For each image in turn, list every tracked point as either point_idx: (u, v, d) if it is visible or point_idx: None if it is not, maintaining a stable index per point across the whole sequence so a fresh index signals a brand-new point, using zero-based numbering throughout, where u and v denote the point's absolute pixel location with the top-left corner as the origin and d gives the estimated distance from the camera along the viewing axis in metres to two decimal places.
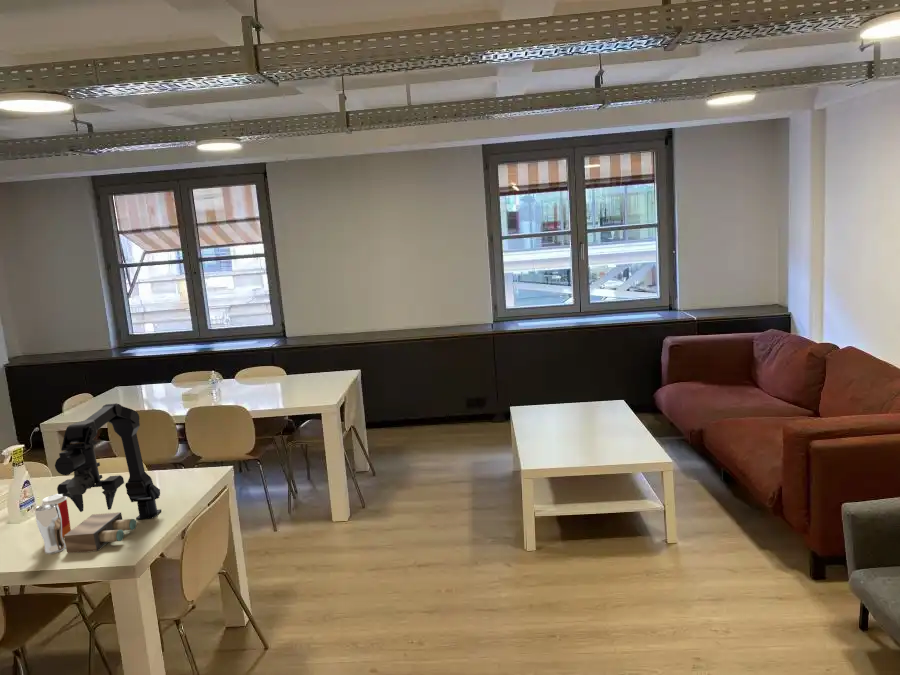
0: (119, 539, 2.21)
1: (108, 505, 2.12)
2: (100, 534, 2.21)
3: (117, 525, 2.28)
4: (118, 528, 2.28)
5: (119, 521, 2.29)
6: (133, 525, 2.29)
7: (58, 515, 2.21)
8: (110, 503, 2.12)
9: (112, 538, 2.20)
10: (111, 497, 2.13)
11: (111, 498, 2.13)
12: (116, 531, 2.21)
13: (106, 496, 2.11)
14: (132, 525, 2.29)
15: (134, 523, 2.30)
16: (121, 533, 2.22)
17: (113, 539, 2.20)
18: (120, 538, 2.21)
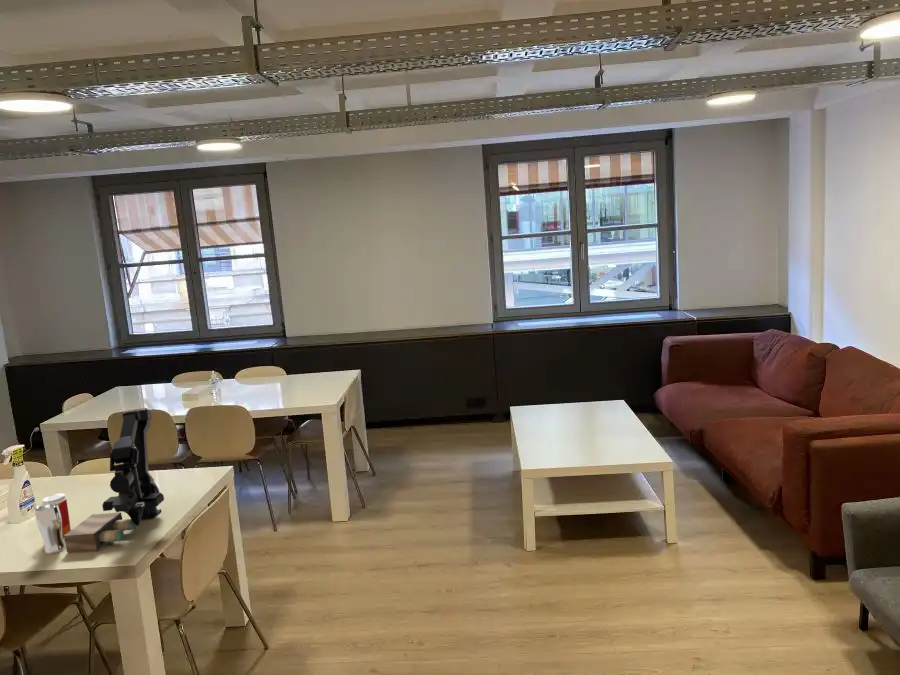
0: (119, 539, 2.21)
1: (137, 521, 2.28)
2: (100, 534, 2.21)
3: (117, 525, 2.28)
4: (118, 528, 2.28)
5: (119, 521, 2.29)
6: (133, 525, 2.29)
7: (58, 515, 2.21)
8: (139, 520, 2.29)
9: (112, 538, 2.20)
10: (140, 514, 2.29)
11: (140, 515, 2.29)
12: (116, 531, 2.21)
13: (135, 513, 2.27)
14: (132, 525, 2.29)
15: None
16: (121, 533, 2.22)
17: (113, 539, 2.20)
18: (120, 538, 2.21)
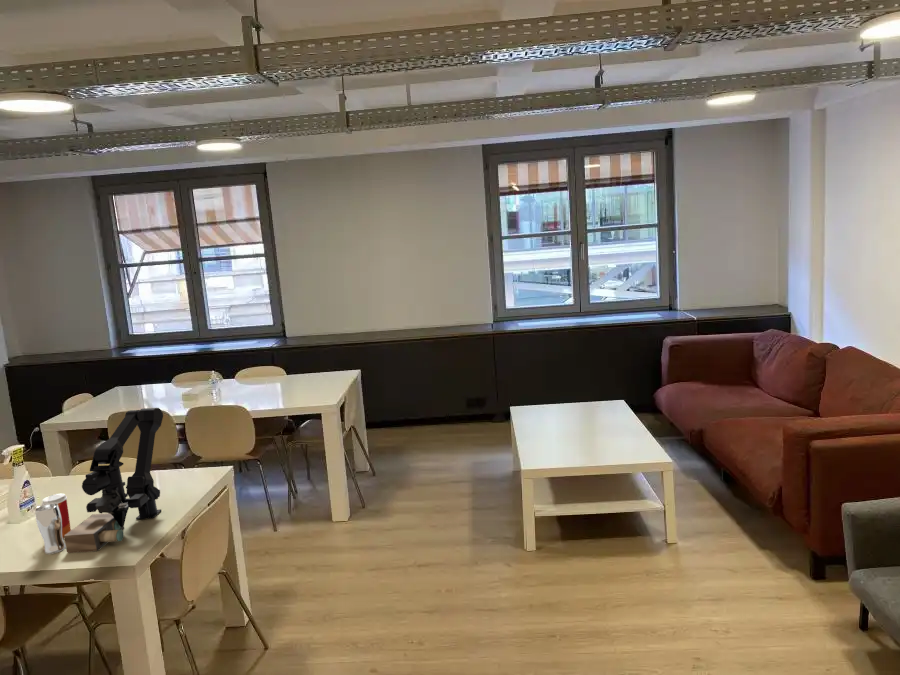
0: (119, 539, 2.21)
1: (121, 523, 2.29)
2: (100, 534, 2.21)
3: None
4: None
5: None
6: (118, 526, 2.30)
7: (58, 515, 2.21)
8: (123, 521, 2.29)
9: (112, 538, 2.20)
10: (123, 515, 2.29)
11: (123, 516, 2.29)
12: (116, 531, 2.21)
13: (119, 514, 2.27)
14: (117, 526, 2.29)
15: None
16: (121, 533, 2.22)
17: (113, 539, 2.20)
18: (120, 538, 2.21)
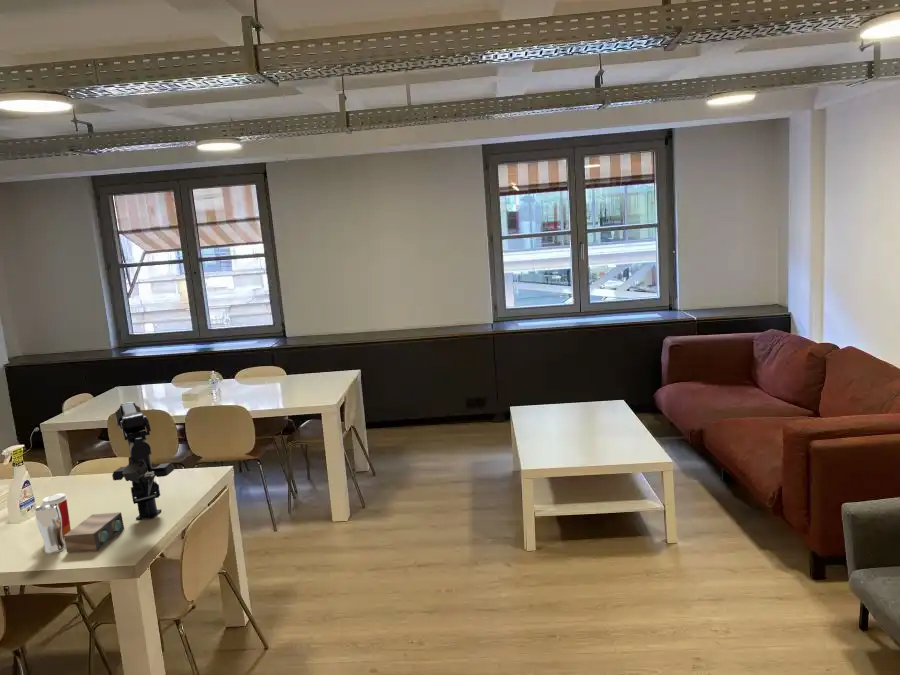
0: (103, 540, 2.21)
1: (147, 491, 2.28)
2: None
3: None
4: None
5: None
6: (118, 526, 2.30)
7: (58, 515, 2.21)
8: (148, 490, 2.29)
9: None
10: (149, 484, 2.29)
11: (149, 485, 2.29)
12: (100, 532, 2.21)
13: (145, 483, 2.27)
14: (117, 526, 2.29)
15: (119, 524, 2.30)
16: (105, 534, 2.22)
17: None
18: (104, 539, 2.22)
